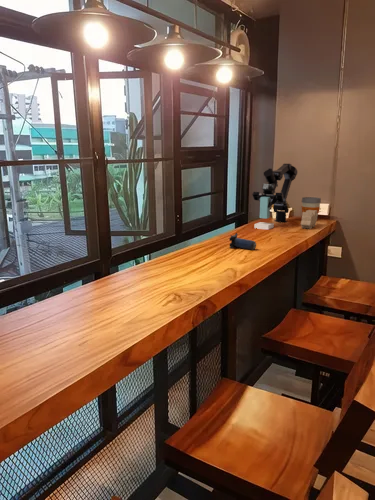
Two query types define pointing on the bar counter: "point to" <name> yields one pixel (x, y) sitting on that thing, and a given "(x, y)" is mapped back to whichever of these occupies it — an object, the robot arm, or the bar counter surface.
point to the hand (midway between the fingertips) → (264, 207)
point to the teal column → (264, 207)
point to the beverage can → (242, 243)
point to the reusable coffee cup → (311, 204)
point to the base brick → (264, 225)
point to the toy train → (309, 219)
